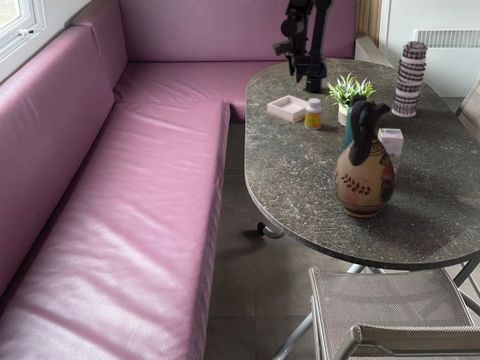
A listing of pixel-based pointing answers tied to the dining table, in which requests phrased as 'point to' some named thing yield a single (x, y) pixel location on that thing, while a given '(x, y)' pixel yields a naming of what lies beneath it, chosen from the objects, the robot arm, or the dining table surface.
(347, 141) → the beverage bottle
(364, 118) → the ceramic jug
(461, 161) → the dining table surface
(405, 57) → the white banded cylinder
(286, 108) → the dish
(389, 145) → the syrup box
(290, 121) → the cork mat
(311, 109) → the supplement bottle
